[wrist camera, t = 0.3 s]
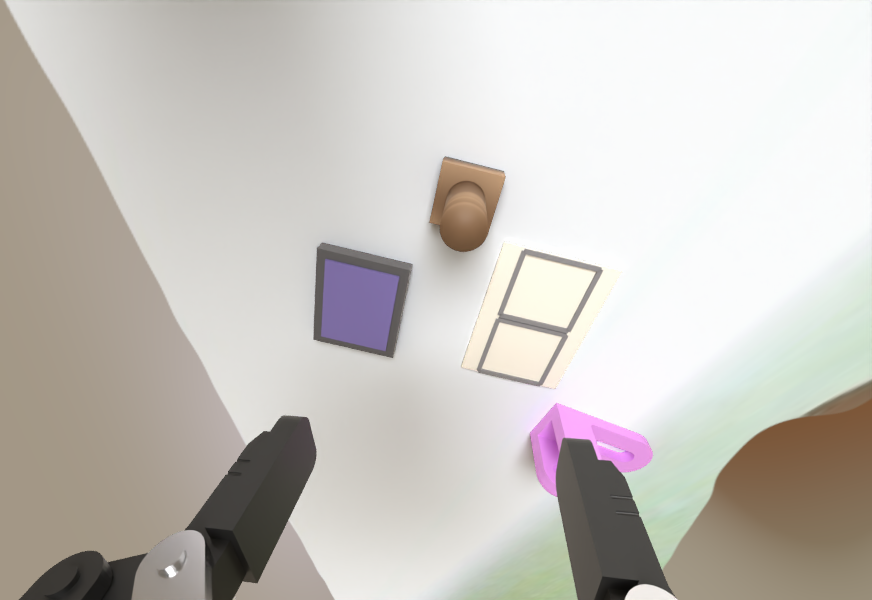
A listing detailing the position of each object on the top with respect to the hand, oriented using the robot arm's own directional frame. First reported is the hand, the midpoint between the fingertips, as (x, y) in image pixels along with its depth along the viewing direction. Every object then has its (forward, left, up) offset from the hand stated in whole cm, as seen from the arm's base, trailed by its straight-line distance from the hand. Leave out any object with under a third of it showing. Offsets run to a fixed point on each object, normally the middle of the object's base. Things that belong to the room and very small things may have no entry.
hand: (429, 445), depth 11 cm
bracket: (+20, +21, -21) cm, 36 cm away
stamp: (-3, 0, -21) cm, 21 cm away
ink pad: (+9, -7, -21) cm, 24 cm away
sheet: (+7, +9, -21) cm, 24 cm away
